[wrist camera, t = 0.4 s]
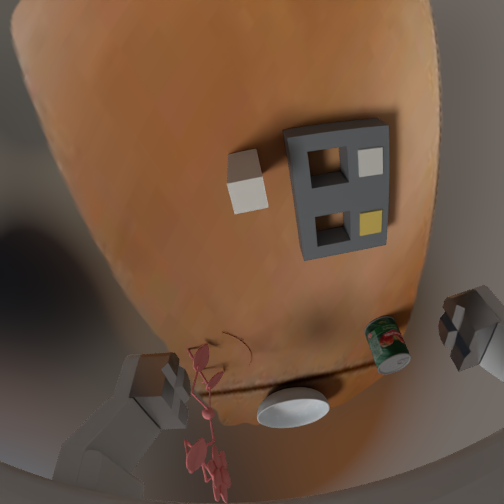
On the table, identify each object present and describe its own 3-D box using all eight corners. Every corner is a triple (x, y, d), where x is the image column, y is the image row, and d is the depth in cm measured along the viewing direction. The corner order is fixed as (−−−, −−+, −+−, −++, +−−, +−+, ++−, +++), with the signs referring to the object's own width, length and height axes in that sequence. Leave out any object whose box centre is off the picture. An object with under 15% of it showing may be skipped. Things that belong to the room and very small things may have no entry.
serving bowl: (332, 397, 89) (336, 416, 84) (271, 414, 93) (272, 432, 88) (315, 370, 77) (320, 392, 72) (243, 390, 82) (244, 412, 76)
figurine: (204, 385, 79) (206, 508, 51) (171, 327, 63) (159, 492, 35) (260, 378, 78) (275, 504, 50) (243, 317, 63) (259, 490, 35)
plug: (228, 154, 42) (226, 183, 34) (256, 148, 42) (262, 176, 34) (234, 179, 45) (234, 214, 37) (261, 174, 44) (268, 207, 36)
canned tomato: (364, 341, 71) (377, 378, 62) (363, 322, 66) (378, 361, 57) (394, 331, 70) (409, 367, 61) (395, 311, 65) (412, 349, 56)
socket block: (282, 130, 40) (287, 138, 37) (376, 118, 39) (389, 125, 36) (299, 246, 52) (304, 262, 49) (377, 231, 51) (386, 245, 48)
